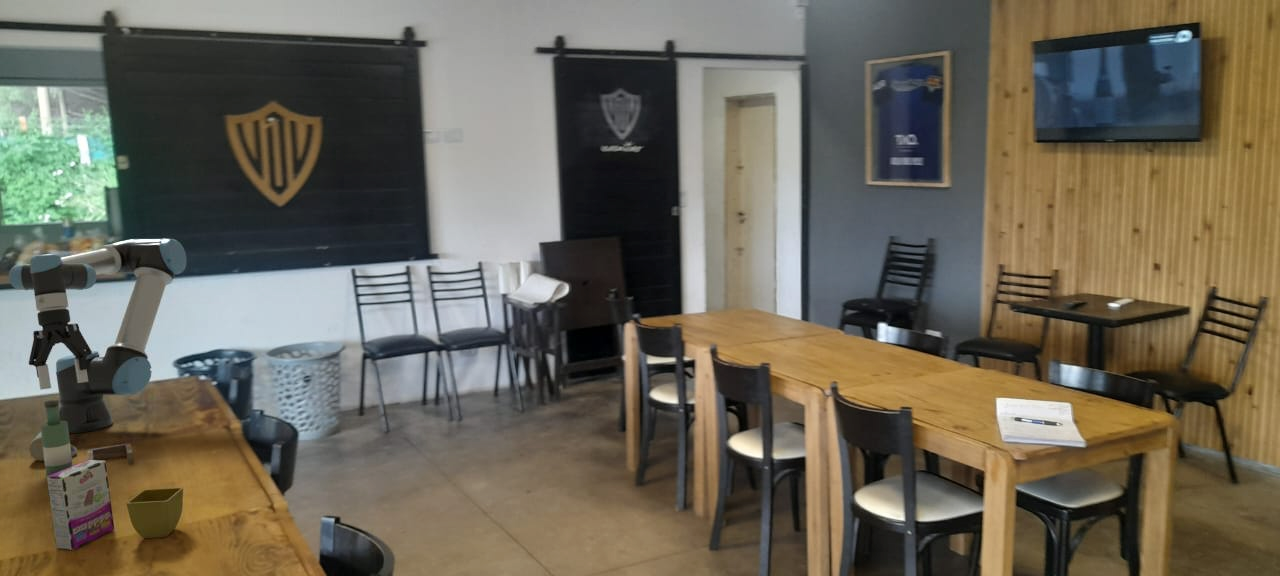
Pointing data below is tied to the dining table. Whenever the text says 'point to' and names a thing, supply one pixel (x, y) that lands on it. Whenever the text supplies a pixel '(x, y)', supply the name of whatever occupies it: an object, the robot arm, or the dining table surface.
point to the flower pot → (156, 511)
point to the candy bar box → (80, 504)
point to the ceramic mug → (37, 448)
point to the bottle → (55, 440)
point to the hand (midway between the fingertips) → (64, 385)
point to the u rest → (111, 452)
